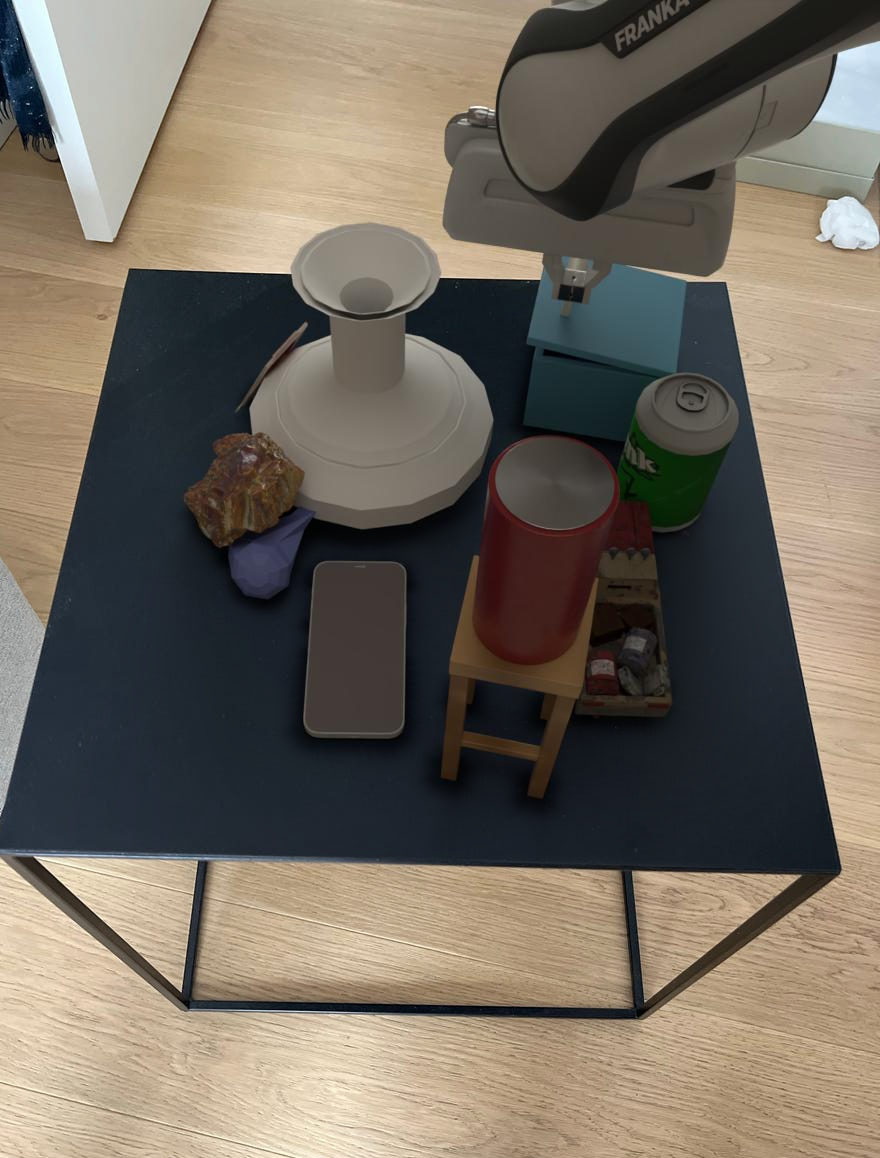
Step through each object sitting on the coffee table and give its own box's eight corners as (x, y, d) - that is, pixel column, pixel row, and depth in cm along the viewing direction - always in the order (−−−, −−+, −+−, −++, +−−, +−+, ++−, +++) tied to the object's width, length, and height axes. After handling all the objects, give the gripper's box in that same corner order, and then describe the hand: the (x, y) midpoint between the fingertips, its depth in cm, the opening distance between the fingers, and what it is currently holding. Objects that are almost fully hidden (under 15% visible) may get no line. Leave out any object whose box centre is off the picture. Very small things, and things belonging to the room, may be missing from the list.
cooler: (522, 425, 87) (533, 359, 81) (541, 336, 93) (552, 268, 86) (652, 446, 86) (673, 381, 79) (663, 355, 92) (684, 288, 85)
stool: (558, 707, 73) (598, 577, 58) (543, 800, 69) (582, 686, 55) (458, 687, 74) (473, 554, 59) (438, 778, 70) (449, 660, 55)
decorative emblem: (314, 325, 89) (247, 410, 92) (311, 322, 89) (243, 407, 92) (302, 324, 79) (227, 420, 82) (299, 321, 79) (223, 417, 82)
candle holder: (486, 556, 80) (509, 381, 63) (240, 544, 80) (199, 366, 64) (490, 378, 90) (511, 186, 73) (272, 368, 91) (243, 175, 74)
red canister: (586, 584, 58) (627, 444, 48) (572, 675, 55) (613, 545, 45) (482, 565, 59) (500, 423, 48) (463, 653, 56) (478, 521, 45)
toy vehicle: (639, 534, 81) (660, 472, 75) (661, 732, 72) (688, 682, 65) (554, 531, 81) (568, 470, 75) (566, 729, 72) (583, 679, 65)
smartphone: (301, 733, 71) (313, 560, 78) (302, 738, 72) (314, 567, 79) (404, 734, 71) (406, 561, 78) (404, 739, 72) (406, 568, 79)
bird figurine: (201, 578, 74) (218, 557, 80) (268, 618, 75) (280, 595, 81) (253, 489, 72) (267, 475, 78) (322, 532, 73) (330, 515, 79)
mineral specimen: (228, 412, 81) (261, 481, 85) (149, 460, 78) (187, 529, 82) (298, 439, 72) (332, 516, 76) (211, 494, 69) (251, 570, 73)
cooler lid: (525, 344, 79) (538, 301, 76) (546, 253, 85) (559, 209, 81) (673, 381, 79) (693, 340, 76) (683, 287, 85) (703, 245, 81)
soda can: (707, 482, 84) (751, 378, 74) (691, 550, 80) (734, 450, 70) (620, 460, 85) (651, 354, 75) (600, 526, 82) (630, 424, 71)
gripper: (436, 130, 64) (429, 303, 75) (759, 175, 61) (699, 345, 73) (455, 76, 67) (445, 250, 79) (762, 116, 65) (704, 289, 76)
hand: (570, 296), depth 76 cm, fingers closed
